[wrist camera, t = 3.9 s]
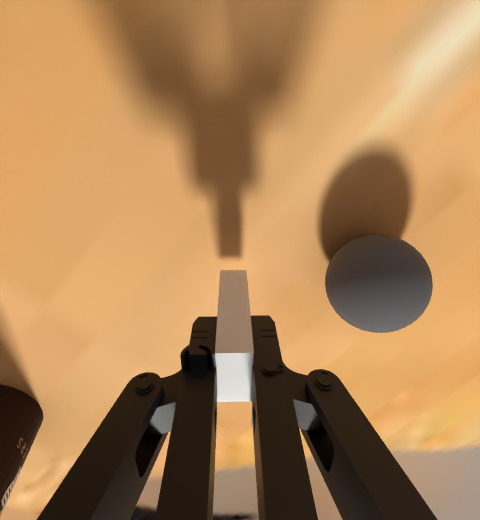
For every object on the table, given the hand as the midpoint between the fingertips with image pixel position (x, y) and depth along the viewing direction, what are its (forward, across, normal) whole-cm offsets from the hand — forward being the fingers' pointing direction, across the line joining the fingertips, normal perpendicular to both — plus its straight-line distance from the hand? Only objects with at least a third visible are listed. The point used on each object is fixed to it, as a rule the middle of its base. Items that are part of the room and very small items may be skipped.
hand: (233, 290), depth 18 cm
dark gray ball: (0, +8, +1) cm, 8 cm away
